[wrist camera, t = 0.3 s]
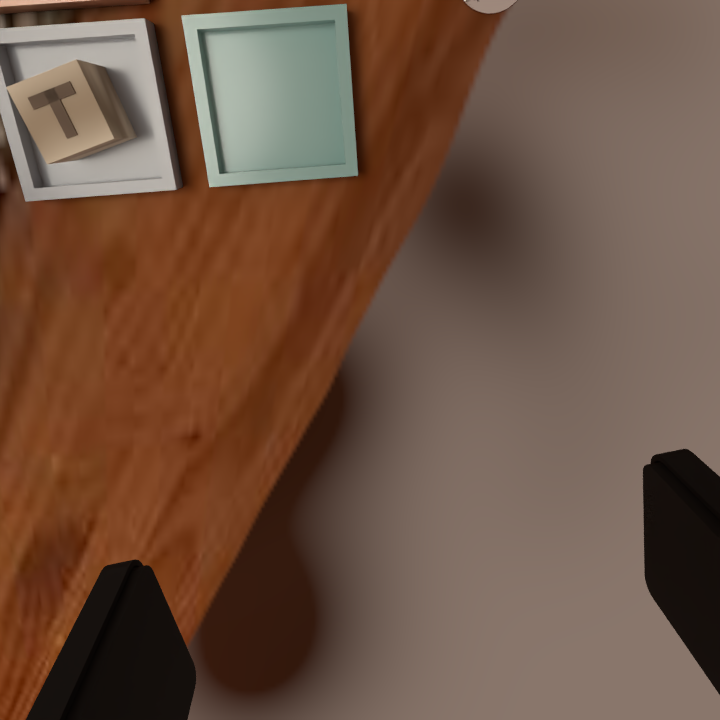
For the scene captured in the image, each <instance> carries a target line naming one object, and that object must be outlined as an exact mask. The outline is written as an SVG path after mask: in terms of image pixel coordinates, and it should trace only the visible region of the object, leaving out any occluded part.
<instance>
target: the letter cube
mask: <svg viewBox="0 0 720 720" xmlns="http://www.w3.org/2000/svg"><path fill="white" fill-rule="evenodd" d="M6 88H7V90H8V92H9V94H10V96H11V98H12V99H13V101H14V103H15V105H16V107H17V109H18V111H19V113H20V114H21V116H22V118H23V120H24V122H25V124H26V126H27V128H28V130H29V131H30V133H31V135H32V137H33V139H34V141H35V143H36V145H37V147H38V148H39V150H40V152H41V154H42V156H43V158H44V160H45V162H46V163H47V164H54V163H61V162H68V161H76V160H79V159H82V158H84V157H87V156H89V155H92V154H95V153H97V152H100V151H102V150H105V149H108V148H110V147H113V146H115V145H118V144H121V143H123V142H126V141H129V140H131V139H134V138H136V137H137V136H136V134H135V132H134V129H133V127H132V125H131V123H130V121H129V119H128V117H127V114H126V112H125V110H124V108H123V106H122V104H121V101H120V99H119V97H118V95H117V93H116V91H115V88H114V86H113V84H112V82H111V80H110V78H109V76H108V73H107V71H106V69H105V67H104V66H100V65H96V64H92V63H88V62H85V61H81V60H77V59H76V60H73V61H71V62H68V63H66V64H63V65H61V66H58V67H56V68H53V69H51V70H48V71H46V72H43V73H41V74H38V75H36V76H33V77H31V78H28V79H26V80H23V81H20V82H18V83H15V84H13V85H10V86H8V87H6Z"/></svg>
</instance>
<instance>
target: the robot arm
mask: <svg viewBox="0 0 720 720" xmlns="http://www.w3.org/2000/svg"><path fill="white" fill-rule="evenodd" d="M643 500H644V501H643V502H644V558H645V560H644V561H645V562H644V563H645V580H646V584H647V587H648V589H649V592H650V594H651V596H652V597H653V599H654V600H655V602H656V603H657V605H658V606H659V607H660V609H661V610H662V612H663V613H664V615H665V616H666V618H667V619H668V620H669V622H670V623H671V625H672V626H673V628H674V629H675V631H676V632H677V634H678V635H679V636H680V638H681V639H682V641H683V642H684V643H685V645H686V646H687V648H688V649H689V651H690V652H691V654H692V655H693V657H694V658H695V660H696V661H697V662H698V664H699V665H700V667H701V668H702V670H703V671H704V673H705V674H706V676H707V677H708V678H709V680H710V681H711V683H712V684H713V686H714V687H715V689H716V690H717V691H718V693H719V694H720V477H719V476H718V475H717V474H716V473H715V472H714V471H712V470H711V469H710V468H709V467H708V466H707V465H706V464H705V463H704V462H702V461H701V460H700V459H699V458H698V457H697V456H696V455H695V454H694V453H692V452H691V451H689V450H688V449H682V450H676V451H672V452H667V453H662V454H656V455H654V456H653V457H652V459H651V464H648V465H646V466H644V468H643ZM195 684H196V671H195V666H194V663H193V660H192V658H191V656H190V654H189V651H188V649H187V647H186V645H185V642H184V640H183V638H182V635H181V633H180V631H179V629H178V626H177V624H176V622H175V620H174V617H173V615H172V613H171V610H170V608H169V606H168V604H167V601H166V599H165V597H164V595H163V592H162V590H161V588H160V585H159V583H158V581H157V579H156V576H155V574H154V572H153V570H152V568H151V567H150V566H147V565H146V566H143V565H142V563H141V562H140V561H139V560H131V561H126V562H121V563H116V564H111V565H107V566H105V567H104V568H103V570H102V571H101V573H100V575H99V577H98V579H97V581H96V583H95V585H94V587H93V589H92V591H91V593H90V595H89V596H88V598H87V600H86V602H85V604H84V606H83V608H82V610H81V612H80V614H79V616H78V618H77V620H76V622H75V624H74V626H73V628H72V630H71V632H70V634H69V636H68V638H67V640H66V642H65V644H64V646H63V648H62V650H61V652H60V653H59V655H58V657H57V659H56V661H55V663H54V665H53V667H52V669H51V671H50V673H49V675H48V677H47V679H46V681H45V683H44V685H43V687H42V689H41V691H40V693H39V695H38V697H37V699H36V701H35V703H34V705H33V707H32V709H31V710H30V712H29V714H28V716H27V718H26V720H187V719H188V715H189V710H190V706H191V702H192V698H193V694H194V689H195Z"/></svg>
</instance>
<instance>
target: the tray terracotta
mask: <svg viewBox="0 0 720 720" xmlns="http://www.w3.org/2000/svg"><path fill="white" fill-rule="evenodd" d="M136 4H150V0H0V14H9V13H23V12H37V11H51V10H65V9H80V8H94V7H108V6H122V5H136Z"/></svg>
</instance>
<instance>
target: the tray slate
mask: <svg viewBox="0 0 720 720" xmlns="http://www.w3.org/2000/svg"><path fill="white" fill-rule="evenodd" d="M76 59H77V60H81V61H85V62H88V63H92V64H96V65H100V66H104V67H105V69H106V71H107V73H108V76H109V78H110V80H111V82H112V84H113V86H114V88H115V91H116V93H117V95H118V97H119V99H120V101H121V104H122V106H123V108H124V110H125V112H126V114H127V117H128V119H129V121H130V123H131V125H132V127H133V129H134V132H135V134H136V136H137V137H136V138H134V139H131V140H129V141H126V142H123V143H121V144H118V145H115V146H113V147H110V148H108V149H105V150H102V151H100V152H97V153H95V154H92V155H89V156H87V157H84V158H82V159H79V160H76V161H68V162H61V163H54V164H47V163H46V162H45V160H44V158H43V156H42V154H41V152H40V150H39V148H38V147H37V145H36V143H35V141H34V139H33V137H32V135H31V133H30V131H29V130H28V128H27V126H26V124H25V122H24V120H23V118H22V116H21V114H20V113H19V111H18V109H17V107H16V105H15V103H14V101H13V99H12V98H11V96H10V94H9V92H8V90H7V88H6V87H8V86H10V85H13V84H15V83H18V82H20V81H23V80H26V79H28V78H31V77H33V76H36V75H38V74H41V73H43V72H46V71H48V70H51V69H53V68H56V67H58V66H61V65H63V64H66V63H68V62H71V61H73V60H76ZM0 113H1V116H2V120H3V123H4V127H5V130H6V134H7V137H8V141H9V144H10V148H11V151H12V155H13V158H14V162H15V166H16V169H17V173H18V176H19V180H20V183H21V187H22V190H23V194H24V197H25V201H38V200H51V199H64V198H77V197H90V196H102V195H115V194H128V193H141V192H154V191H167V190H177V189H179V188H182V187H183V183H182V177H181V172H180V166H179V161H178V155H177V149H176V144H175V138H174V133H173V127H172V122H171V116H170V111H169V105H168V99H167V94H166V88H165V83H164V77H163V72H162V66H161V61H160V55H159V50H158V44H157V38H156V33H155V27H154V24H153V23H152V22H150V21H148V20H147V19H145V18H142V19H128V20H114V21H100V22H86V23H72V24H58V25H44V26H30V27H16V28H1V29H0Z"/></svg>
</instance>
